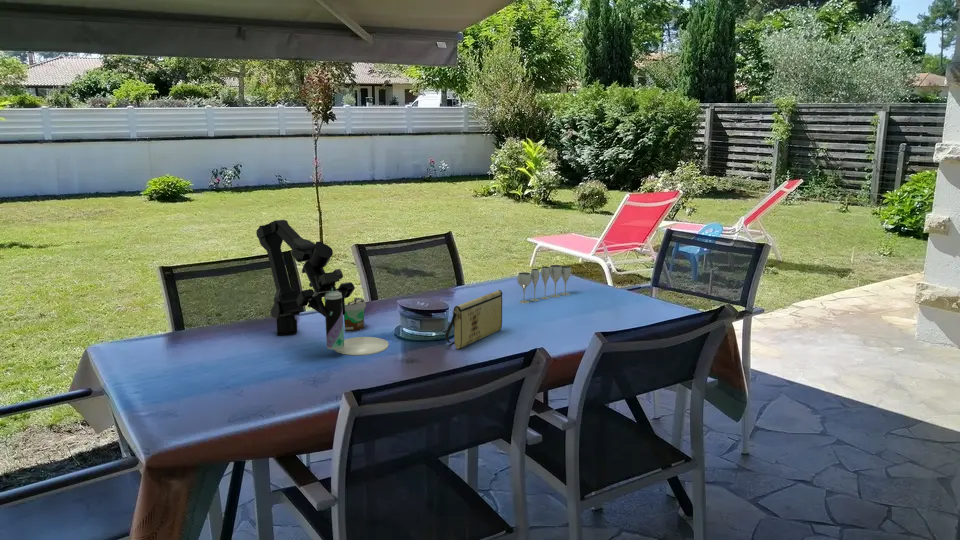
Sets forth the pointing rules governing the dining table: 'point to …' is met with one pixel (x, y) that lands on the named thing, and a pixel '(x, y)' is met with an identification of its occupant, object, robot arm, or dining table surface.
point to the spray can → (334, 319)
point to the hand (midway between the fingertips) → (336, 316)
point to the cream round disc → (363, 346)
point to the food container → (354, 315)
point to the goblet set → (544, 278)
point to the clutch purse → (476, 319)
